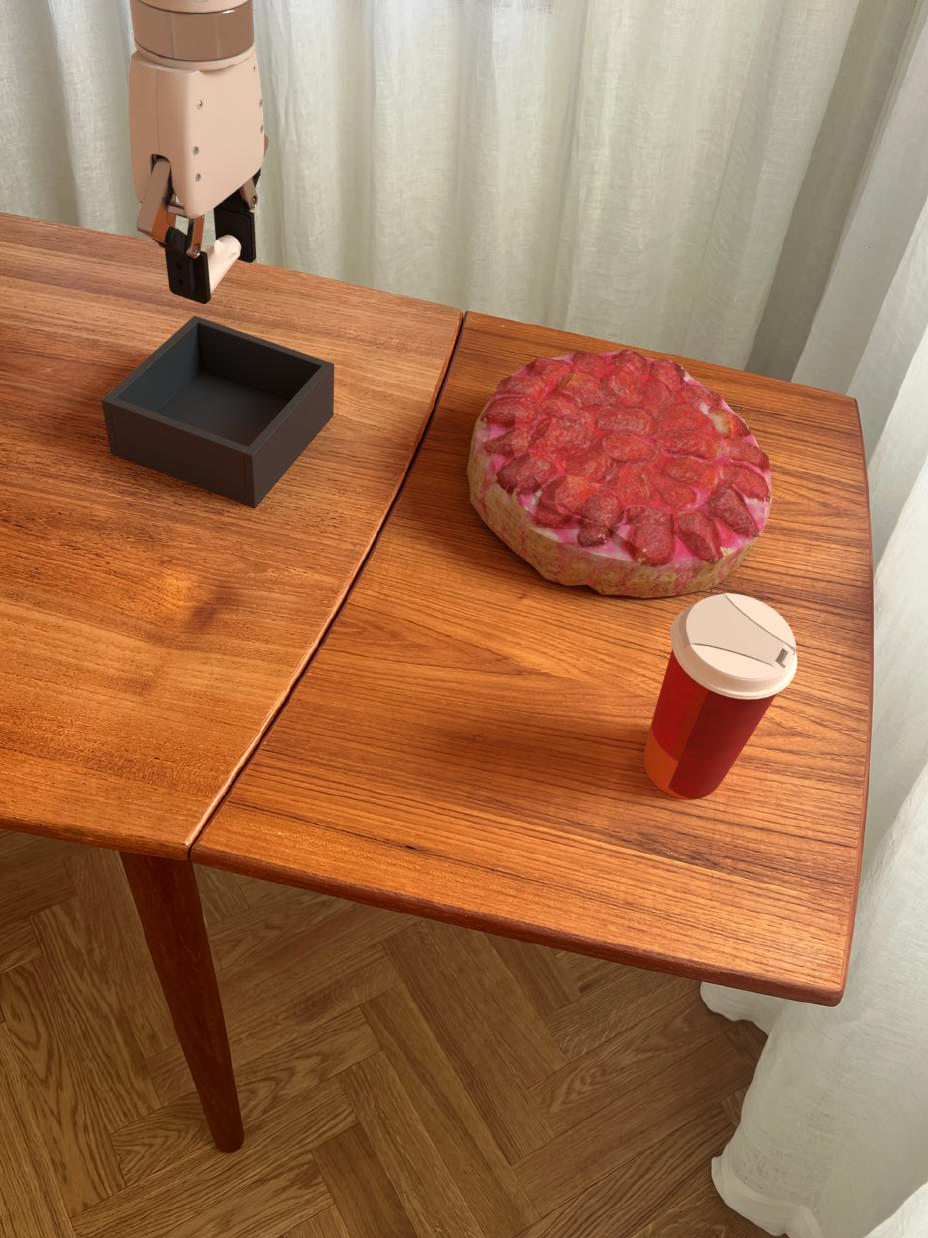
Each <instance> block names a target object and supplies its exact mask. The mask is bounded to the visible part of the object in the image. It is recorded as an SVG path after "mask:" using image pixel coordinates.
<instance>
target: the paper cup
mask: <svg viewBox="0 0 928 1238" xmlns="http://www.w3.org/2000/svg"><path fill="white" fill-rule="evenodd" d="M669 636H670V643H671V652H670V656H669V659H668V662H667V666H666V669H665V672H664V677H663V680H662V683H661V687H660V690H659V694H658V698H657V701H656V704H655V709H654V712H653V715H652V720H651V723H650V727H649V731H648V735H647V738H646V742H645V746H644V753H643V766H644V770H645V772H646V774H647V776H648V778H649V779H650V781H651V783H653V784H654V785H655V787H657V788H658V789H660V790H661V791H662V792H664V793H666V794H667V795H669V796H672V797H673V798H678V799H682V800H698V799H702V798H705V797H707V796H709V795H711V794H712V793H714V792H715V791H716V790H717V789H718V788H719V786H720V785H721V784H722V782H723V781H724V780H725V778H726V777H727V775H728V773H729V772H730V770H731V769H732V768H733V766H734V764H735V762H736V761H737V759H738V758H739V756H740V754H741V753H742V751H743V750H744V748H745V746H746V745H747V743H748V742H749V740H750V739H751V737H752V735H753V734H754V732H755V730H756V729H757V727H758V726H759V724H760V722H761V720H762V719H763V717H764V716H765V714H766V712H767V711H768V710H769V708H770V706H771V704H772V703H773V701H774V700H775V698H776V697H777V695H778V693H780V692H782V691H783V690H784V689H785V688H787V687H788V686H789V685H790V684H791V682H792V680H793V679H794V677H795V674H796V672H797V667H798V655H797V643H796V639H795V636H794V633H793V630H792V628H791V627H790V625H789V624H788V622H787V621H786V620H785V618H784V617H783V616H782V615H781V614H780V613H779V612H778V611H777V610H775V609H774V608H772V607H771V606H769V605H768V604H766V603H764V602H762V601H760V600H759V599H756V598H754V597H750V596H747V595H743V594H740V593H739V594H738V593H729V592H727V593H719V594H715V595H710V596H708V597H705V598H703V599H701V600H699V601H697V602H694V603H692V604H690V605H688V606H687V607H686V608H684V610H682V611H680V612H679V613H678V614H677V615H676V616H675V617H674V619H673V621H672V623H671V624H670V629H669Z"/></svg>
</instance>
